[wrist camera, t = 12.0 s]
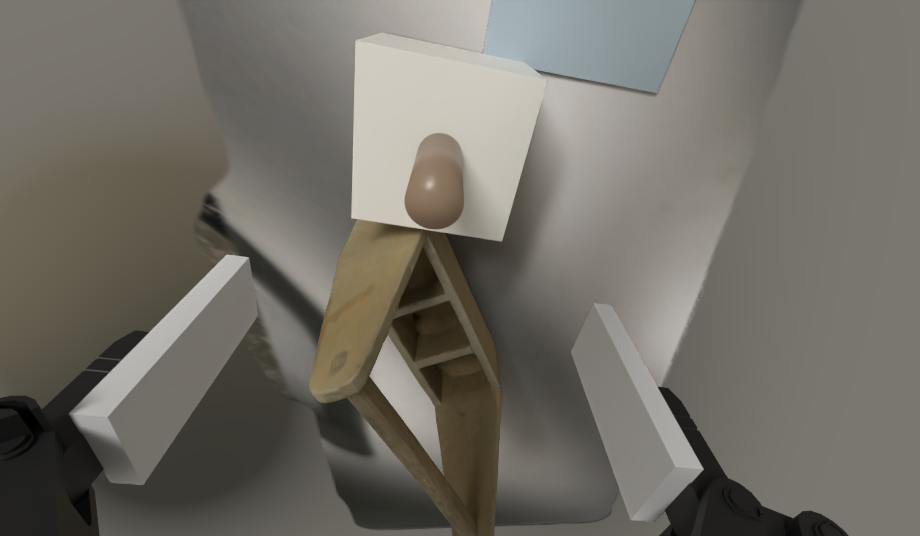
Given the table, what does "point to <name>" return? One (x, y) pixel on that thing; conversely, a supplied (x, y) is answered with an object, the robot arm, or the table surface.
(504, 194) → the cover box
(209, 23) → the table surface
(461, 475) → the caddy
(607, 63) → the mat
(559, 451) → the table surface
